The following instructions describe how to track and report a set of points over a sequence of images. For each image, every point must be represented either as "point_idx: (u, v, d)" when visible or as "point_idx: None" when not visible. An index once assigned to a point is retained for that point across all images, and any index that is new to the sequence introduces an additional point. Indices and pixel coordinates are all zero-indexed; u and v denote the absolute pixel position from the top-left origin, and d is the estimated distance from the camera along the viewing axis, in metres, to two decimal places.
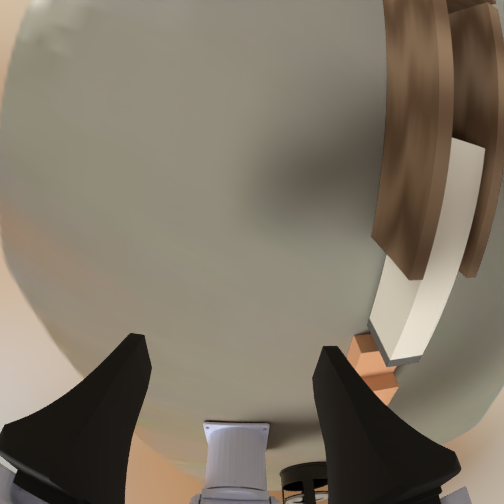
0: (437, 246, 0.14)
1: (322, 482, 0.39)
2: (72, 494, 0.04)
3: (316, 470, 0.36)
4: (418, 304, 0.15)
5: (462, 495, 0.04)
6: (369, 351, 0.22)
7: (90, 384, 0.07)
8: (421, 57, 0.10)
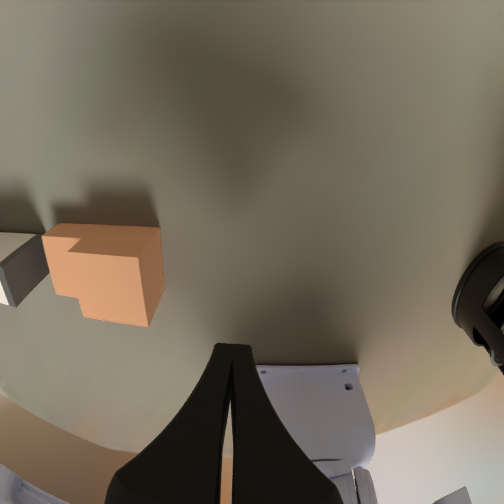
0: None
1: None
2: None
3: (474, 287, 0.17)
4: None
5: (462, 494, 0.04)
6: (53, 284, 0.16)
7: (200, 404, 0.07)
8: None
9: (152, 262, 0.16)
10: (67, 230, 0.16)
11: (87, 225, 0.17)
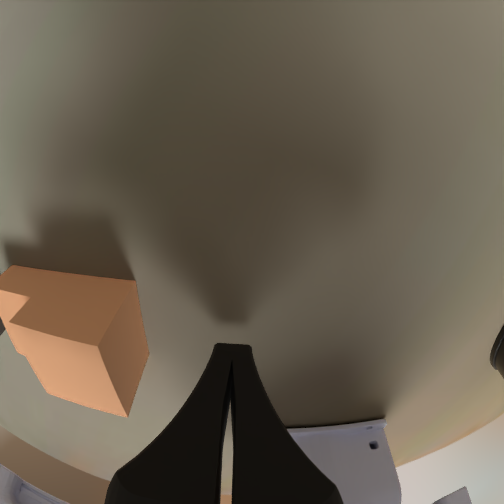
0: None
1: None
2: None
3: None
4: None
5: (462, 495, 0.04)
6: (13, 342, 0.11)
7: (200, 404, 0.07)
8: None
9: (125, 335, 0.10)
10: (18, 279, 0.10)
11: (42, 272, 0.11)
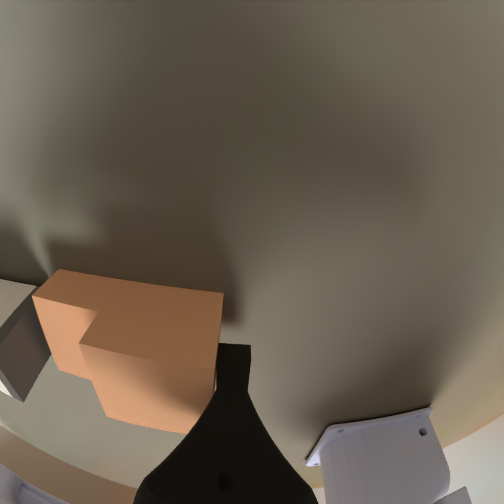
0: None
1: None
2: None
3: None
4: None
5: (462, 495, 0.04)
6: (54, 357, 0.10)
7: (223, 406, 0.07)
8: None
9: None
10: (72, 288, 0.10)
11: (103, 281, 0.11)
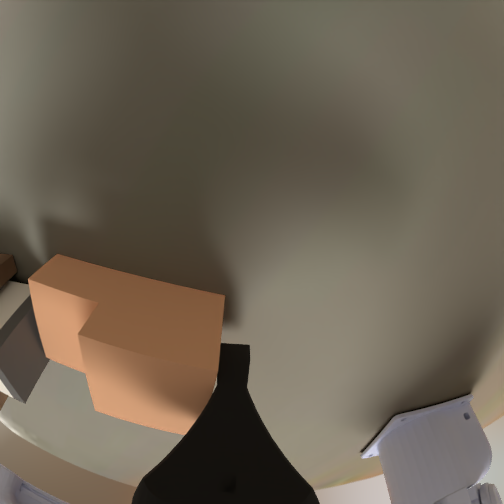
0: None
1: None
2: None
3: None
4: None
5: (462, 495, 0.04)
6: (43, 345, 0.10)
7: (222, 406, 0.07)
8: None
9: None
10: (70, 276, 0.10)
11: (103, 271, 0.11)
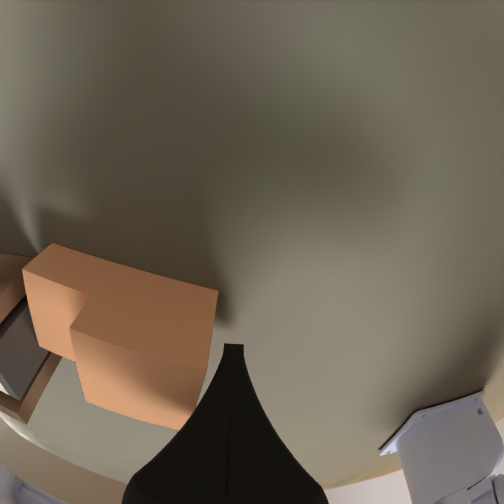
0: None
1: None
2: None
3: None
4: None
5: (462, 494, 0.04)
6: (36, 334, 0.10)
7: (213, 405, 0.07)
8: None
9: None
10: (64, 267, 0.10)
11: (97, 262, 0.11)
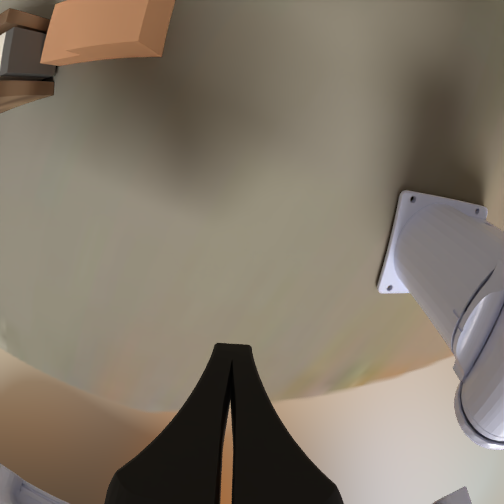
0: None
1: None
2: None
3: None
4: None
5: (462, 494, 0.04)
6: (42, 52, 0.10)
7: (200, 404, 0.07)
8: None
9: (163, 3, 0.10)
10: None
11: None
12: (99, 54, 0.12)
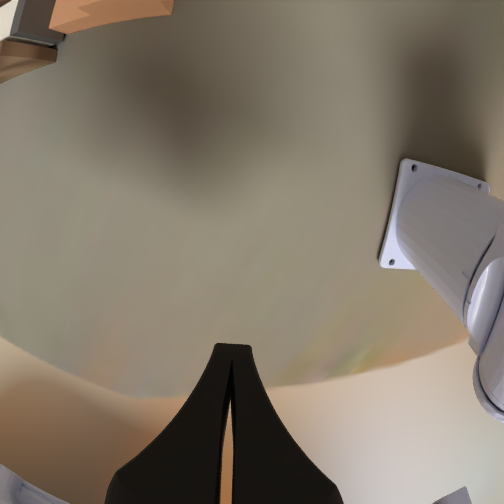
0: None
1: None
2: None
3: None
4: None
5: (462, 495, 0.04)
6: (51, 18, 0.09)
7: (200, 404, 0.07)
8: None
9: None
10: None
11: None
12: (109, 14, 0.10)
